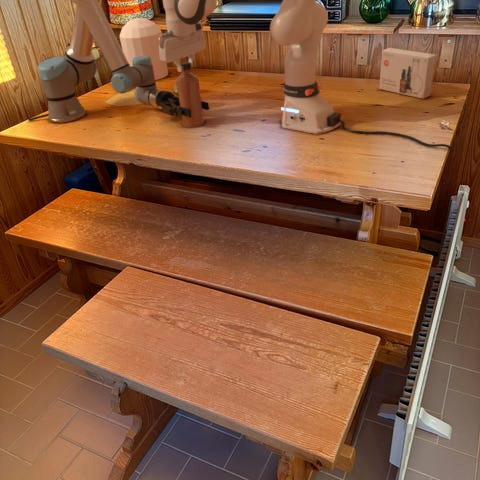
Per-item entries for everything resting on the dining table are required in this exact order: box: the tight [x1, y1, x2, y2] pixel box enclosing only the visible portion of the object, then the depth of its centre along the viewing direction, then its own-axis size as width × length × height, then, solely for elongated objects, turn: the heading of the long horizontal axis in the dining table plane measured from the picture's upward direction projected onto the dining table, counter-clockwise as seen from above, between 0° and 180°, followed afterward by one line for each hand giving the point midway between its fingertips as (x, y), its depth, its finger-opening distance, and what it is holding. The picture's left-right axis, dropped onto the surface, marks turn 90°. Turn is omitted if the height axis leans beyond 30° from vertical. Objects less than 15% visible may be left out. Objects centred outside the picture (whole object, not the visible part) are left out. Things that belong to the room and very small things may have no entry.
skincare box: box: [378, 47, 437, 100], centre depth 184 cm, size 21×6×16 cm, turn 40°
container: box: [119, 17, 169, 81], centre depth 235 cm, size 21×21×28 cm
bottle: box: [175, 69, 205, 128], centre depth 174 cm, size 8×8×22 cm
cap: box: [180, 61, 192, 71], centre depth 168 cm, size 4×4×2 cm
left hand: (199, 109), depth 174 cm, fingers closed on bottle, 8 cm apart
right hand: (185, 69), depth 169 cm, fingers closed on cap, 4 cm apart
